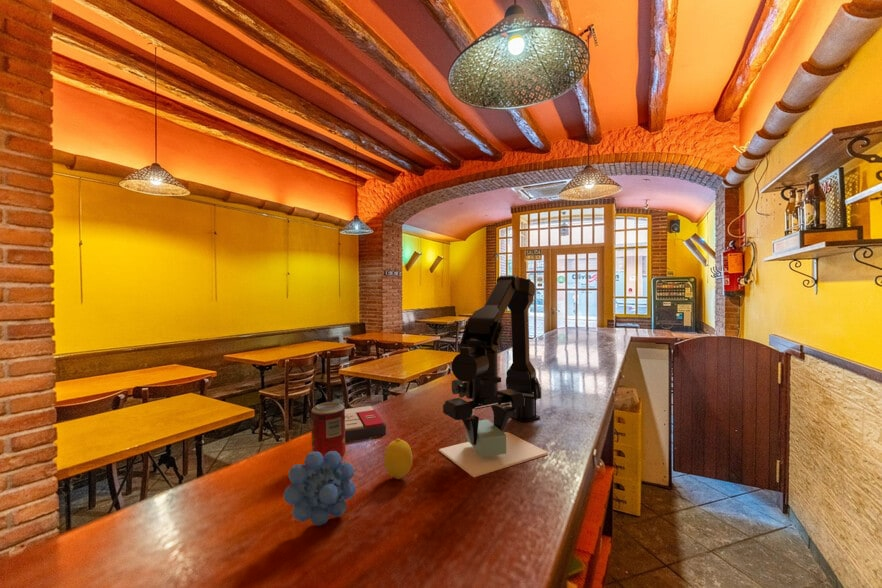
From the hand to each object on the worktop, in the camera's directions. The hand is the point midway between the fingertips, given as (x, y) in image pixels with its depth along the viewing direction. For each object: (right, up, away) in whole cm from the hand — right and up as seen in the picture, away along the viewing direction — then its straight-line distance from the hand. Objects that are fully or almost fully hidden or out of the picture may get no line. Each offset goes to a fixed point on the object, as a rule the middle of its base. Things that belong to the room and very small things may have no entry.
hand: (485, 441), depth 85 cm
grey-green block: (0, -1, 0) cm, 1 cm away
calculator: (-32, -4, +17) cm, 36 cm away
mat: (+2, -3, +1) cm, 4 cm away
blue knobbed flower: (-28, -4, -25) cm, 38 cm away
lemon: (-18, -4, -10) cm, 21 cm away
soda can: (-34, -4, -2) cm, 35 cm away
